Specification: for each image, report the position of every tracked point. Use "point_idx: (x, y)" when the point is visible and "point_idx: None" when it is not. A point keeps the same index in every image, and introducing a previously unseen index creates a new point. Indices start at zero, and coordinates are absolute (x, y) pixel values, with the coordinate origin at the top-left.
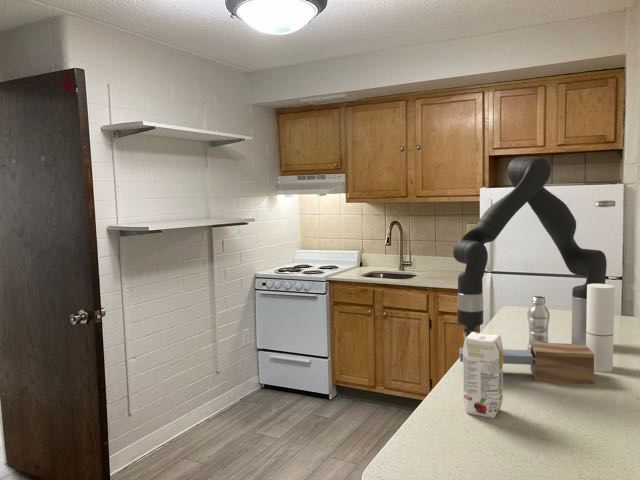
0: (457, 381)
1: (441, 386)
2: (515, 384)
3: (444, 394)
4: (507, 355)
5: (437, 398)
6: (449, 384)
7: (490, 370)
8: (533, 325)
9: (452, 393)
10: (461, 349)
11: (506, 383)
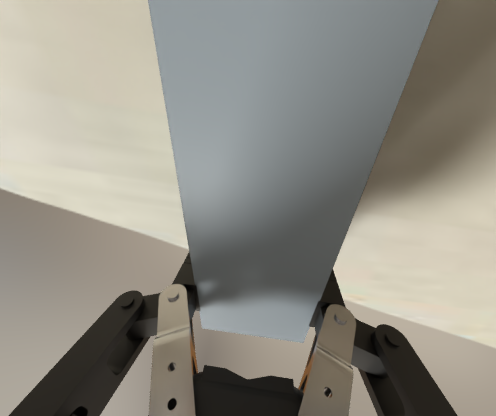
0: (351, 273)
1: (384, 309)
2: (464, 37)
3: (451, 312)
4: (413, 52)
5: (473, 327)
6: (373, 293)
7: None
8: None
9: (453, 297)
10: (231, 327)
11: (426, 97)
